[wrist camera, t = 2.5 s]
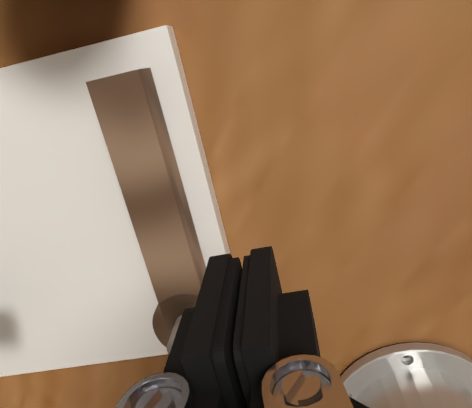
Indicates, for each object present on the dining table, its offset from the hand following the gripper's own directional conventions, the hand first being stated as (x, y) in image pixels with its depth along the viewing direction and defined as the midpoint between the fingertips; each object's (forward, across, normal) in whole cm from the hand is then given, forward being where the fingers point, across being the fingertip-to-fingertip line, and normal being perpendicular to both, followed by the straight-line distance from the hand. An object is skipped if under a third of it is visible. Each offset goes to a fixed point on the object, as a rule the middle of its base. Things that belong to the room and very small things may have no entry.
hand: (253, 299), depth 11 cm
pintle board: (+17, +15, +2) cm, 23 cm away
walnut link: (+15, +7, +3) cm, 17 cm away
